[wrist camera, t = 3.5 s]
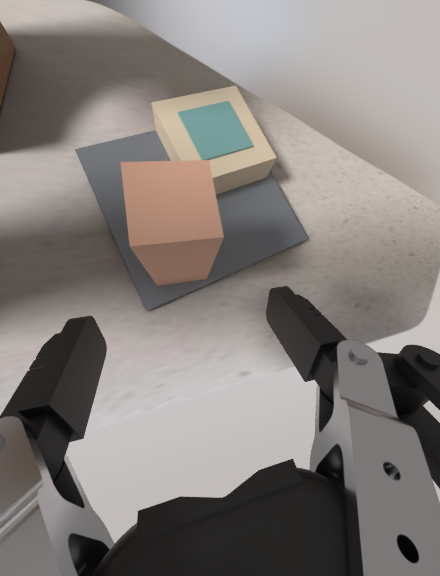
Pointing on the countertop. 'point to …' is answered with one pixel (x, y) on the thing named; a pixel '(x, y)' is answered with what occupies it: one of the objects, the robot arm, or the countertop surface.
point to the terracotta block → (172, 218)
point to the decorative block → (5, 59)
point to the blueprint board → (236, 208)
